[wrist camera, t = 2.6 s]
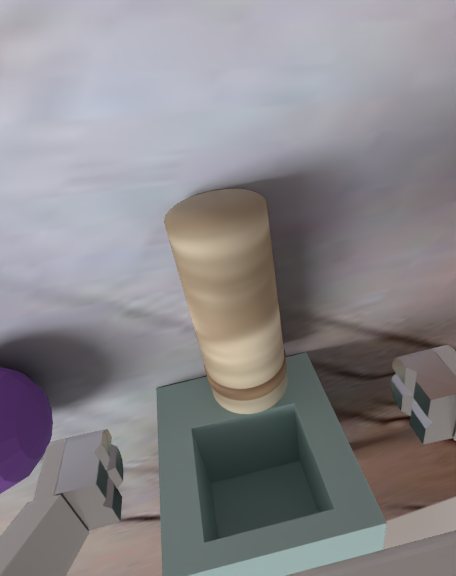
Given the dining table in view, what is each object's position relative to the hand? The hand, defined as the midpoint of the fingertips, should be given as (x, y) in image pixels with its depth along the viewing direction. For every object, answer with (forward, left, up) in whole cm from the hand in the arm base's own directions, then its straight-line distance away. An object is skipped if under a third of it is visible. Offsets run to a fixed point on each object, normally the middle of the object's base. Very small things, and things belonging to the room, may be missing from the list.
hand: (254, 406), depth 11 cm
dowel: (+2, 0, -9) cm, 9 cm away
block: (+12, 0, -9) cm, 15 cm away
